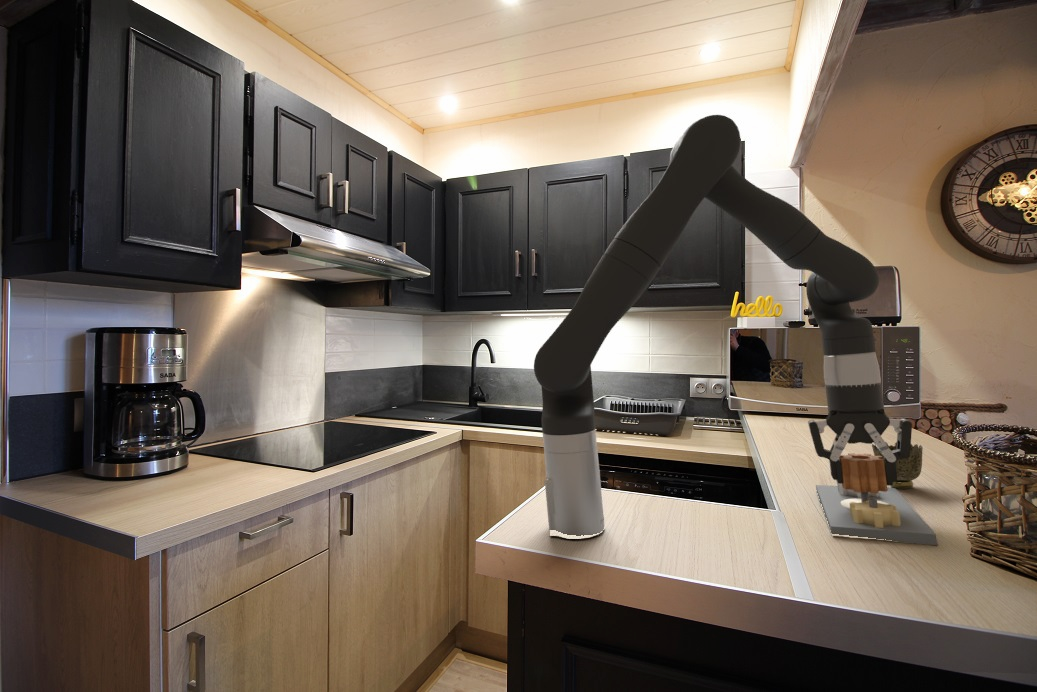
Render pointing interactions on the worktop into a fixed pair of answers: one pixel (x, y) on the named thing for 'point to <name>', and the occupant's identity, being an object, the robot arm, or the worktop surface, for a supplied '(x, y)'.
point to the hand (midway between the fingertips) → (863, 483)
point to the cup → (905, 466)
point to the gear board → (873, 515)
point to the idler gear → (863, 473)
